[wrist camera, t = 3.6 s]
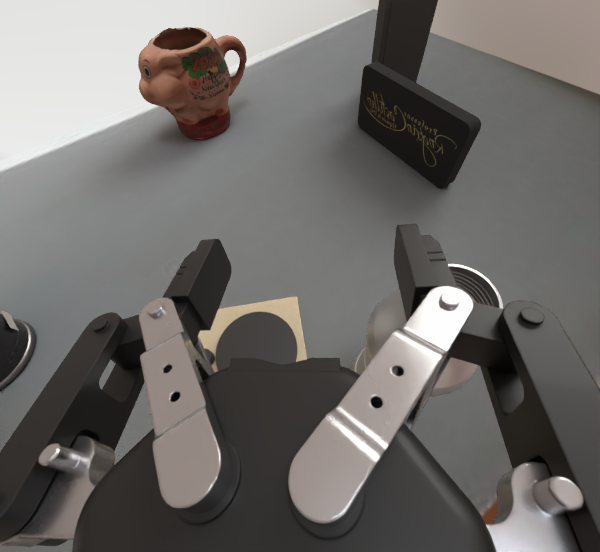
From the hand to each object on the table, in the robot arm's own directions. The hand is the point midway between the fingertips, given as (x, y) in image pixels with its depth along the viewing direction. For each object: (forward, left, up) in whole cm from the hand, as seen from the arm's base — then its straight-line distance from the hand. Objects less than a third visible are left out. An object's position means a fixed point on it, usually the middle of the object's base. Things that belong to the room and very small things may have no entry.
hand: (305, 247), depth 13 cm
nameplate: (+20, +32, -21) cm, 43 cm away
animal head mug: (-12, +50, -21) cm, 55 cm away
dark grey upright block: (+25, +52, -21) cm, 61 cm away
